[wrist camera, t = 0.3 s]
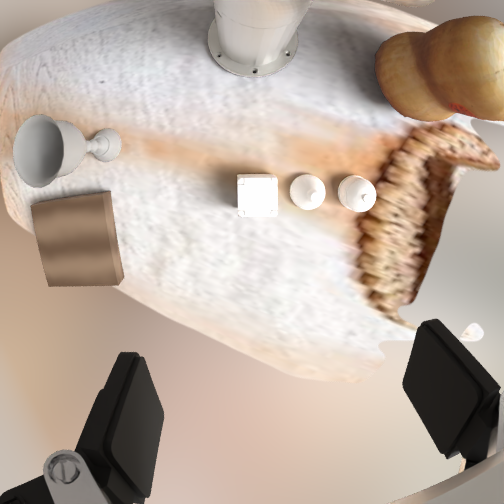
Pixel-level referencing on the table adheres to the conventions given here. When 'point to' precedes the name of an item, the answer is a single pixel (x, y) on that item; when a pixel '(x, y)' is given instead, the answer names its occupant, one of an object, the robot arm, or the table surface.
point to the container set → (299, 193)
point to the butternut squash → (445, 70)
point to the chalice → (57, 149)
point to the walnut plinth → (78, 240)
